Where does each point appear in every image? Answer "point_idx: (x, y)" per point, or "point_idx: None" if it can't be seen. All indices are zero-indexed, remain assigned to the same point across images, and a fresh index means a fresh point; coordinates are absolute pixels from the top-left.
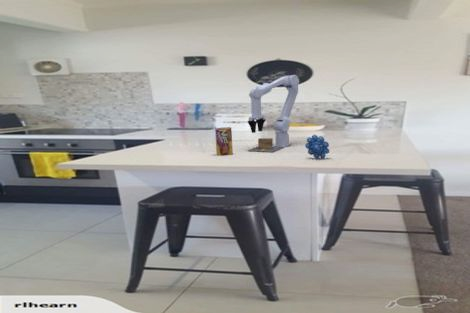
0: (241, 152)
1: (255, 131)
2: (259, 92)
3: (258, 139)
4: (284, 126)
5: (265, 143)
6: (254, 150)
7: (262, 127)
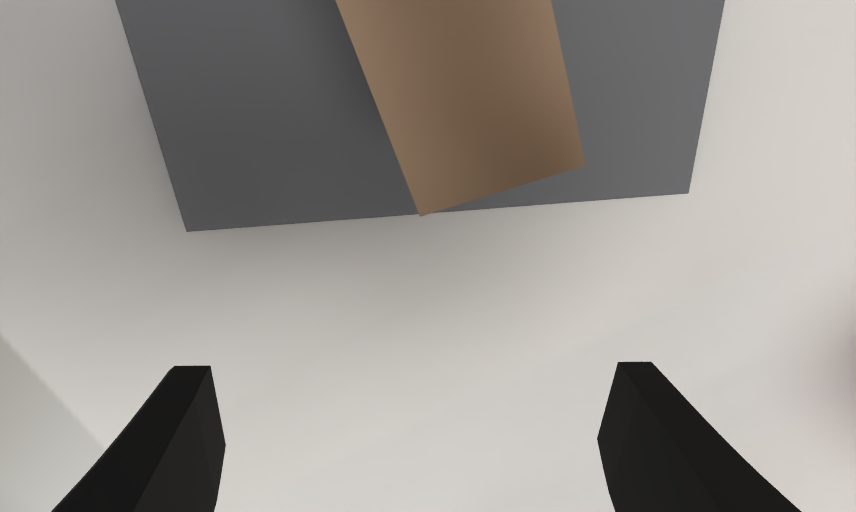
0: (798, 222)
1: (637, 382)
2: None
3: (581, 154)
4: None
5: None
6: (674, 76)
7: (116, 458)
